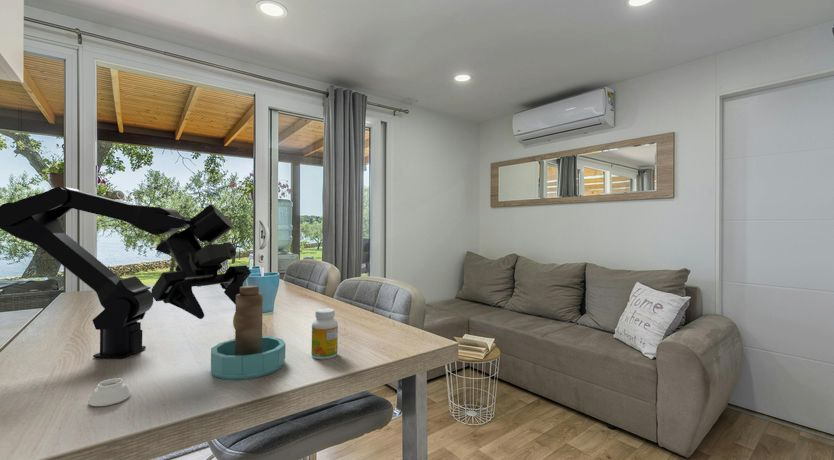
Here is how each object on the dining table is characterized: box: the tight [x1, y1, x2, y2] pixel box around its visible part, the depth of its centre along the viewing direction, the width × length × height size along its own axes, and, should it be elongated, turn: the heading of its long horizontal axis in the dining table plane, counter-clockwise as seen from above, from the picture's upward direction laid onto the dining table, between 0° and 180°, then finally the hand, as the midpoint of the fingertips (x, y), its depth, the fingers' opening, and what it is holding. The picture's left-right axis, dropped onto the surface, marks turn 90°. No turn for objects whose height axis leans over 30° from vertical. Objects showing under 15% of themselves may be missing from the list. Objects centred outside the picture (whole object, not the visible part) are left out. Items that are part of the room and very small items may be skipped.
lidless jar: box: [88, 377, 132, 407], centre depth 59 cm, size 5×3×5 cm
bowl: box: [210, 335, 286, 381], centre depth 73 cm, size 13×13×4 cm
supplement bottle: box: [311, 307, 339, 360], centre depth 80 cm, size 5×5×10 cm
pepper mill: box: [234, 285, 264, 356], centre depth 73 cm, size 5×5×14 cm
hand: (224, 312), depth 76 cm, fingers open, 9 cm apart
